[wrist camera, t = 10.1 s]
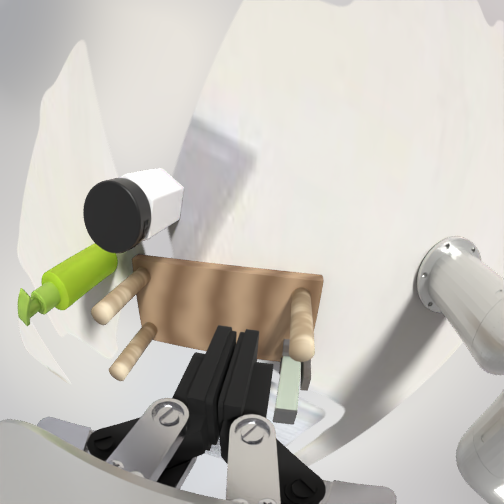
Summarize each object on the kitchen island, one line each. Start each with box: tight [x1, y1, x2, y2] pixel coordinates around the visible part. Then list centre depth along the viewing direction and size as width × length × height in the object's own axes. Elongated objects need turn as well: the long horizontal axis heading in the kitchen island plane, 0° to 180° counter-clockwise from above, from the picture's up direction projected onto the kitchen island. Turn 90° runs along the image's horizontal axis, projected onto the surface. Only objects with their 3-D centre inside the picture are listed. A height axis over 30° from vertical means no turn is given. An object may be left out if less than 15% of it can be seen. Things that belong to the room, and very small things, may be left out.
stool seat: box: [91, 254, 323, 390], centre depth 36 cm, size 28×15×14 cm, turn 87°
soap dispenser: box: [18, 243, 118, 326], centre depth 33 cm, size 6×7×20 cm
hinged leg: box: [273, 356, 301, 424], centre depth 35 cm, size 12×3×3 cm
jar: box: [83, 168, 184, 253], centre depth 32 cm, size 9×8×12 cm
